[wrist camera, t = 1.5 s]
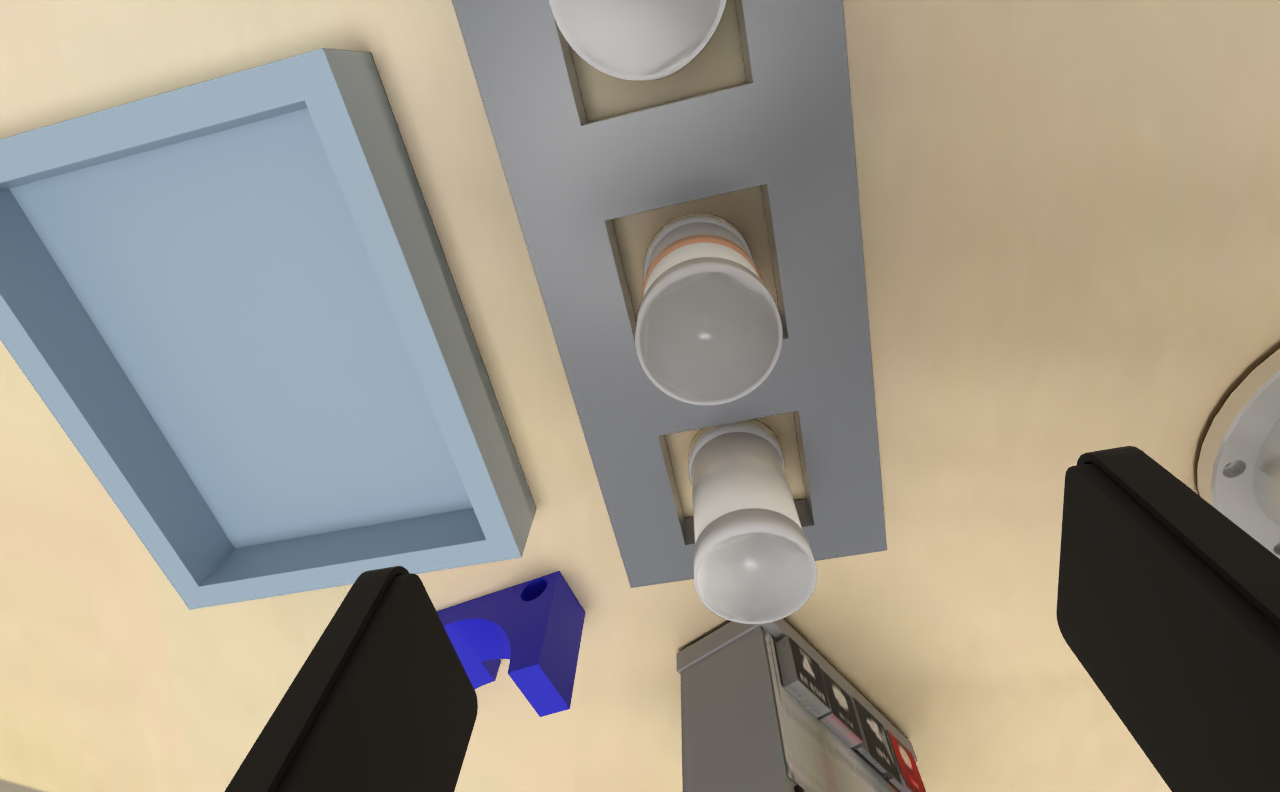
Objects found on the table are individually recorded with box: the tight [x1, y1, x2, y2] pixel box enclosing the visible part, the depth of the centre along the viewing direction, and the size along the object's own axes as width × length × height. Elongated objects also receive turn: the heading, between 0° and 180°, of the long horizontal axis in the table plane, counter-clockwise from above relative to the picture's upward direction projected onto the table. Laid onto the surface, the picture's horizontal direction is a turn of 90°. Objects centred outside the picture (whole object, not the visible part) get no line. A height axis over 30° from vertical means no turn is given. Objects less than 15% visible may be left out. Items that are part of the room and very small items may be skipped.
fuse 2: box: [688, 419, 817, 624], centre depth 26 cm, size 4×4×8 cm
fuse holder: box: [452, 0, 887, 588], centre depth 25 cm, size 12×28×2 cm, turn 13°
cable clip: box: [437, 571, 585, 717], centre depth 32 cm, size 12×4×6 cm, turn 114°
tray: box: [0, 48, 536, 610], centre depth 26 cm, size 16×20×4 cm
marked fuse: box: [635, 213, 783, 405], centre depth 22 cm, size 4×4×8 cm
